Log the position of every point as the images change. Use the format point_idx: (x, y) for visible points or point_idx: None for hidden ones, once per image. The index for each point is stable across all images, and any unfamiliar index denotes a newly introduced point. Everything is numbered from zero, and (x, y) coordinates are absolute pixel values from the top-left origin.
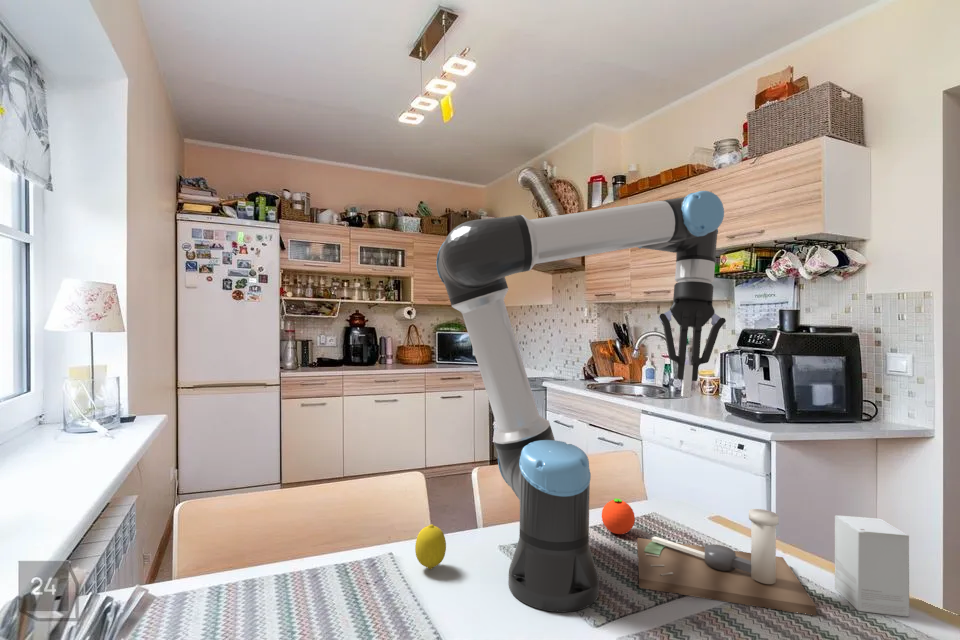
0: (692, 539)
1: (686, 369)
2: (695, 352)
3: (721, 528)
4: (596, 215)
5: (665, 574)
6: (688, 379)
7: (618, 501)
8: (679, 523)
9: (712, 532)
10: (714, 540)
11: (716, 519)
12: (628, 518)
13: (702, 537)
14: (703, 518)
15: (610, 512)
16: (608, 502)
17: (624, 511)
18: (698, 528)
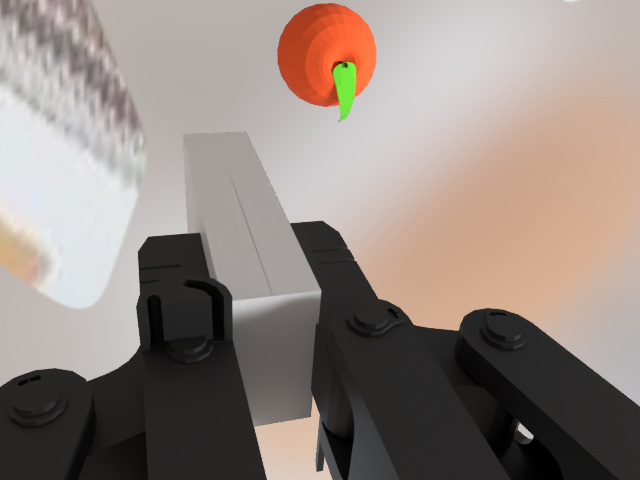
0: (100, 75)
1: (285, 256)
2: (226, 460)
3: (7, 196)
4: None
5: None
6: (234, 201)
7: (344, 62)
8: (136, 186)
9: (37, 153)
10: (31, 91)
11: (22, 263)
12: (303, 18)
13: (69, 102)
14: (63, 254)
15: (359, 20)
16: (369, 68)
17: (321, 25)
18: (80, 169)
